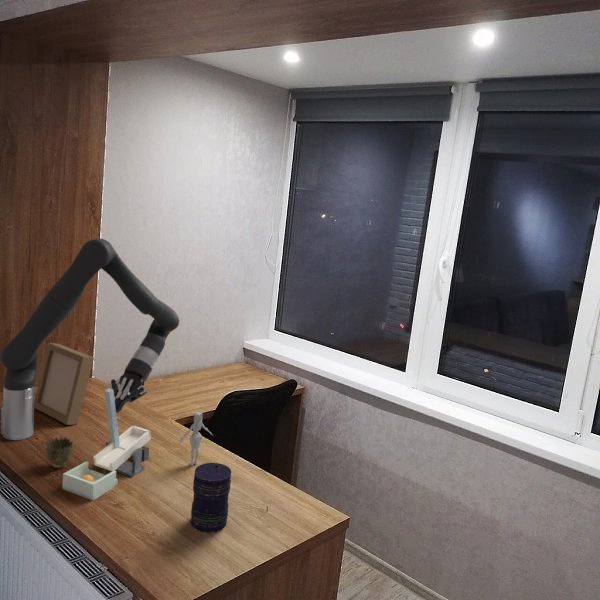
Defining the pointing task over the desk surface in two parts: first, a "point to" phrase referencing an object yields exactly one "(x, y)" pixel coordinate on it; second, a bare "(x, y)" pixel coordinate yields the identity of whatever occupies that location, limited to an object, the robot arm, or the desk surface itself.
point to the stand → (134, 467)
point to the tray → (88, 482)
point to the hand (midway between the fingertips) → (114, 411)
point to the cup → (59, 452)
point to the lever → (119, 439)
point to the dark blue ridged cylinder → (210, 497)
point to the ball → (88, 478)
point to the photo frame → (63, 383)
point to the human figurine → (195, 436)
